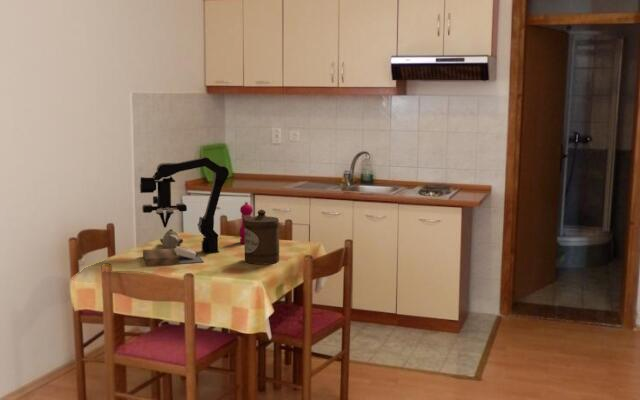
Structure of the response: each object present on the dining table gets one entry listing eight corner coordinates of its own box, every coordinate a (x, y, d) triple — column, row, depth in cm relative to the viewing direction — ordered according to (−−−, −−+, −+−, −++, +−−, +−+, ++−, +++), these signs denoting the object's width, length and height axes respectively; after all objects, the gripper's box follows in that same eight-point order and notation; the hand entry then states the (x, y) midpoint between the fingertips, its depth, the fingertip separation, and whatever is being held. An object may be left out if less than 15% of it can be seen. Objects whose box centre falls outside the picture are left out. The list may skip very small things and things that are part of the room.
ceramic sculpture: (157, 231, 332) (160, 227, 347) (157, 250, 333) (161, 245, 348) (181, 231, 333) (183, 227, 348) (181, 250, 334) (183, 245, 349)
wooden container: (240, 258, 319) (239, 208, 316) (272, 255, 325) (272, 206, 322) (250, 265, 305) (250, 213, 302) (284, 262, 311) (284, 211, 308)
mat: (197, 254, 325) (197, 253, 325) (203, 262, 310) (203, 261, 310) (174, 255, 322) (174, 255, 322) (179, 264, 307) (179, 263, 307)
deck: (173, 255, 324) (173, 248, 324) (178, 264, 307) (178, 257, 307) (143, 256, 320) (142, 250, 319) (146, 266, 303) (146, 258, 303)
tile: (192, 256, 320) (194, 250, 320) (194, 259, 314) (196, 253, 314) (174, 251, 317) (176, 245, 317) (176, 254, 312) (178, 248, 312)
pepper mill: (251, 244, 348) (251, 202, 345) (237, 243, 350) (236, 202, 347) (256, 241, 355) (255, 200, 352) (241, 240, 357) (241, 200, 354)
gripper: (183, 189, 332) (183, 223, 335) (140, 190, 327) (141, 225, 329) (186, 192, 322) (187, 227, 324) (143, 193, 316) (143, 229, 318)
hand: (164, 227), depth 324 cm, fingers closed
